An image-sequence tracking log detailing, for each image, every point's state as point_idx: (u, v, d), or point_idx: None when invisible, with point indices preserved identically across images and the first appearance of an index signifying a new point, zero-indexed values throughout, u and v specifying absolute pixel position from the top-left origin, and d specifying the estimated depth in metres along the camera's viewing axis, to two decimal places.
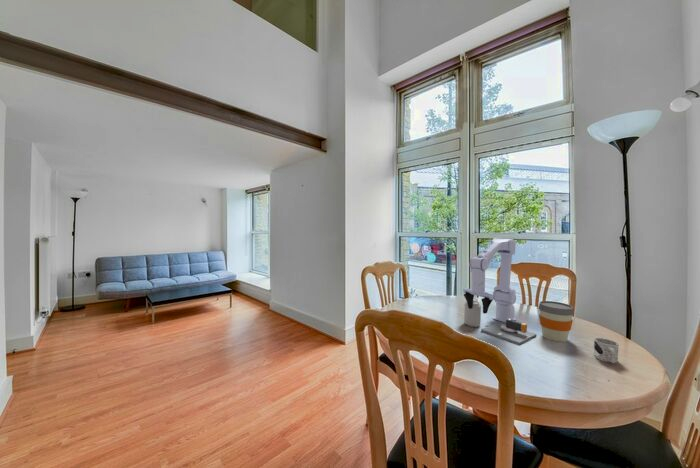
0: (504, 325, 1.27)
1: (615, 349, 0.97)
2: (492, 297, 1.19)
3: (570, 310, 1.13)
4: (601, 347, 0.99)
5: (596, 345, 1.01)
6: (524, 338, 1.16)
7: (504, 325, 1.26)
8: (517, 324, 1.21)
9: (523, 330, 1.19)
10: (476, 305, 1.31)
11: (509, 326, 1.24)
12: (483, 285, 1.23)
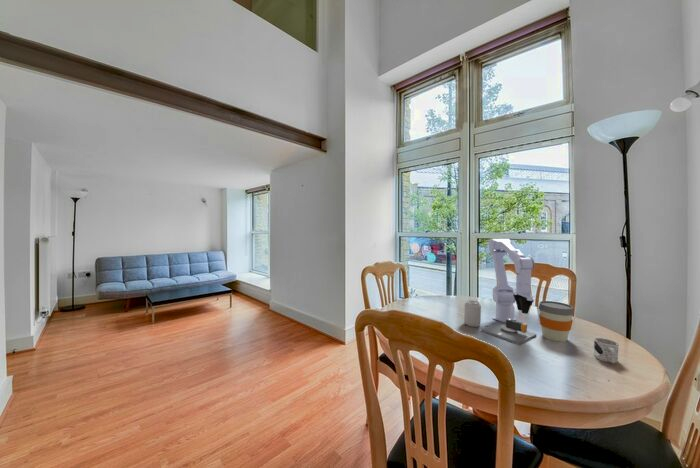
0: (504, 325, 1.27)
1: (615, 349, 0.97)
2: (530, 298, 1.16)
3: (570, 310, 1.13)
4: (601, 347, 0.99)
5: (596, 345, 1.01)
6: (524, 338, 1.16)
7: (504, 325, 1.26)
8: (517, 324, 1.21)
9: (523, 330, 1.19)
10: (476, 305, 1.31)
11: (509, 326, 1.24)
12: (526, 285, 1.20)
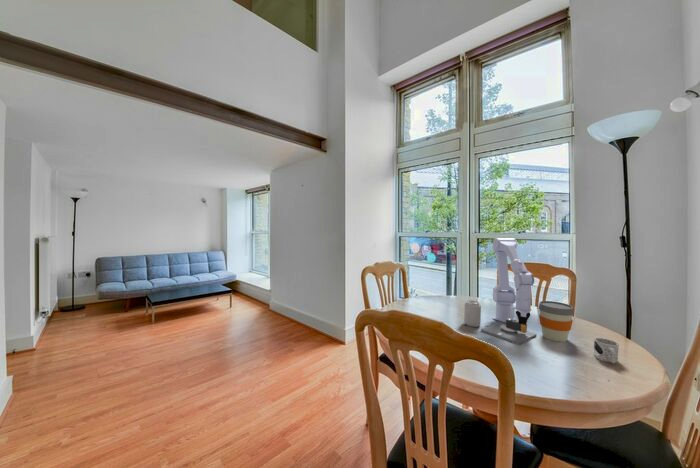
0: (504, 325, 1.27)
1: (615, 349, 0.97)
2: (523, 314, 1.16)
3: (570, 310, 1.13)
4: (601, 347, 0.99)
5: (596, 345, 1.01)
6: (524, 338, 1.16)
7: (505, 325, 1.26)
8: (517, 324, 1.21)
9: (523, 330, 1.19)
10: (476, 305, 1.31)
11: (509, 326, 1.24)
12: (523, 301, 1.19)
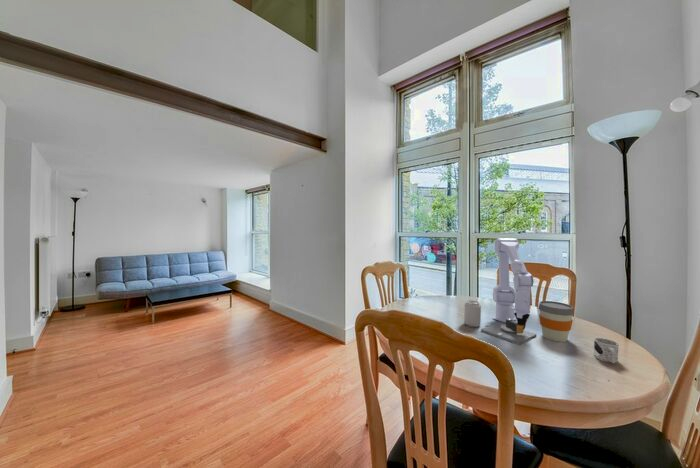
0: (506, 325, 1.27)
1: (615, 349, 0.97)
2: (518, 315, 1.15)
3: (570, 310, 1.13)
4: (601, 347, 0.99)
5: (596, 345, 1.01)
6: (524, 338, 1.16)
7: (506, 325, 1.27)
8: (514, 324, 1.21)
9: (518, 331, 1.18)
10: (476, 305, 1.31)
11: (508, 326, 1.24)
12: (521, 302, 1.18)
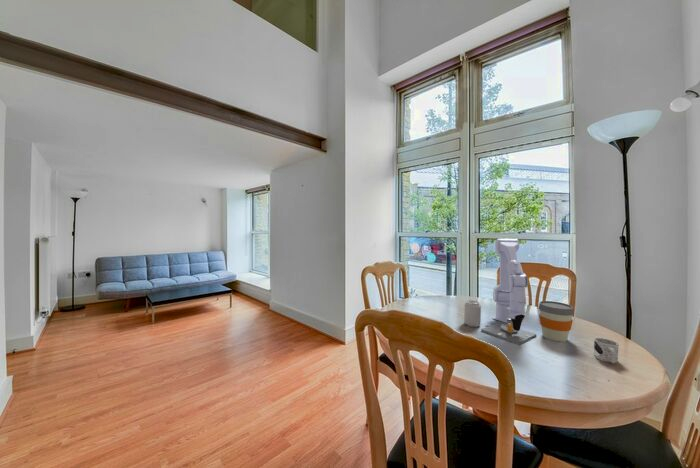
0: None
1: (615, 349, 0.97)
2: (511, 316, 1.14)
3: (570, 310, 1.13)
4: (601, 347, 0.99)
5: (596, 345, 1.01)
6: (524, 338, 1.16)
7: None
8: (507, 323, 1.22)
9: (507, 329, 1.19)
10: (476, 305, 1.31)
11: (506, 325, 1.25)
12: (515, 303, 1.17)
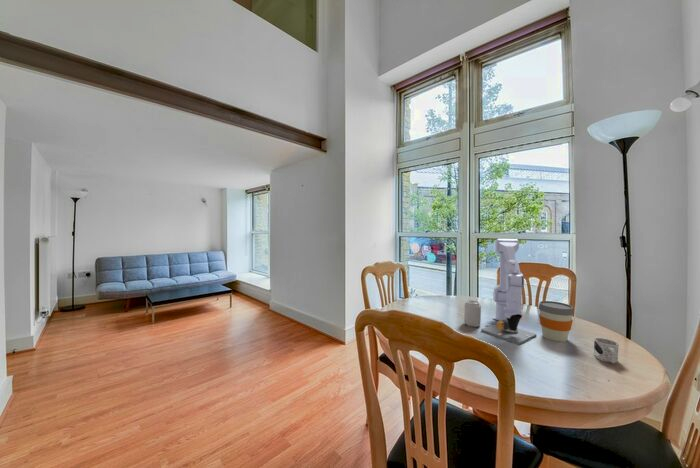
0: None
1: (615, 349, 0.97)
2: (506, 315, 1.14)
3: (570, 310, 1.13)
4: (601, 347, 0.99)
5: (596, 345, 1.01)
6: (524, 338, 1.16)
7: None
8: None
9: None
10: (476, 305, 1.31)
11: None
12: (511, 303, 1.17)
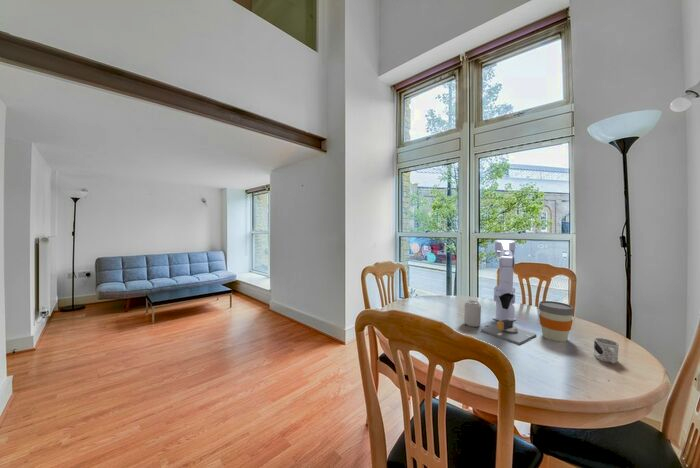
0: (513, 326, 1.25)
1: (615, 349, 0.97)
2: (497, 293, 1.24)
3: (570, 310, 1.13)
4: (601, 347, 0.99)
5: (596, 345, 1.01)
6: (524, 338, 1.16)
7: None
8: None
9: None
10: (476, 305, 1.31)
11: None
12: (503, 282, 1.26)
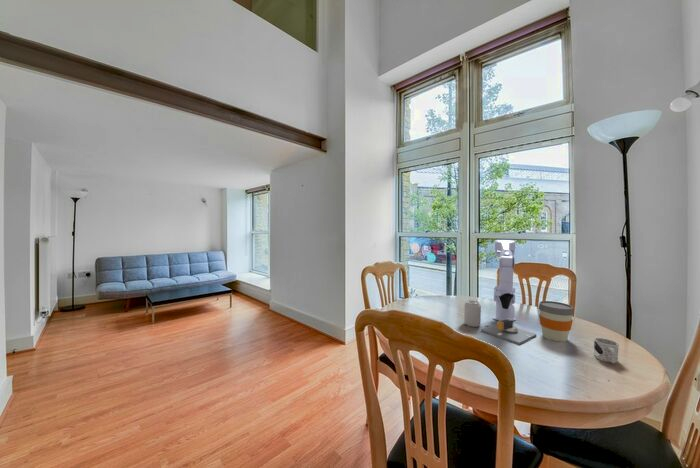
0: (513, 326, 1.25)
1: (615, 349, 0.97)
2: (497, 293, 1.24)
3: (570, 310, 1.13)
4: (601, 347, 0.99)
5: (596, 345, 1.01)
6: (524, 338, 1.16)
7: None
8: None
9: None
10: (476, 305, 1.31)
11: None
12: (503, 282, 1.26)
